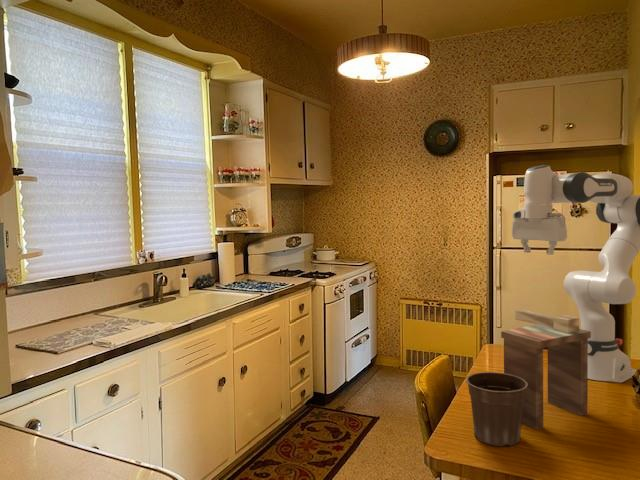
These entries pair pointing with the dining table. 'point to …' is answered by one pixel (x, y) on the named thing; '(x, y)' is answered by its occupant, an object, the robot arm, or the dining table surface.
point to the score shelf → (562, 368)
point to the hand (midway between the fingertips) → (538, 253)
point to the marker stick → (549, 320)
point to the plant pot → (497, 407)
